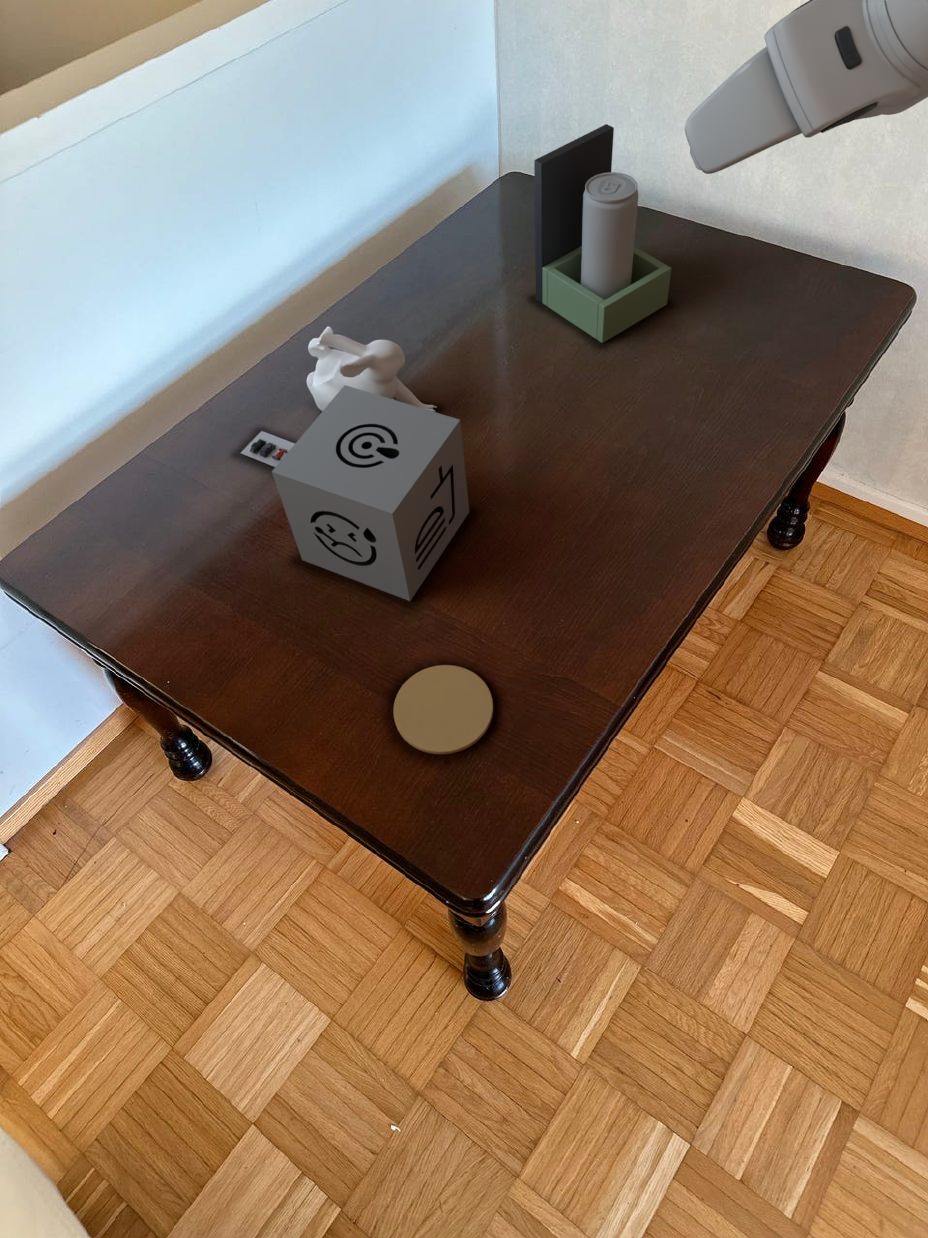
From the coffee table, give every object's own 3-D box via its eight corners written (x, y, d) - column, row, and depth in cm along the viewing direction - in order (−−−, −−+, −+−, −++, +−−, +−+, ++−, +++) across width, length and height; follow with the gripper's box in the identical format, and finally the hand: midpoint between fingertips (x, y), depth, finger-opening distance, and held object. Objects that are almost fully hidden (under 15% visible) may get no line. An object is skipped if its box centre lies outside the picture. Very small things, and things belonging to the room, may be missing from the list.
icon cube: (469, 511, 74) (460, 419, 66) (410, 601, 69) (392, 513, 61) (365, 476, 78) (344, 384, 69) (302, 560, 73) (271, 471, 65)
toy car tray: (261, 430, 82) (259, 424, 81) (333, 458, 79) (332, 452, 78) (240, 453, 80) (237, 446, 80) (312, 482, 77) (311, 475, 77)
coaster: (495, 668, 65) (495, 665, 65) (490, 756, 61) (490, 753, 61) (400, 666, 66) (399, 663, 66) (388, 753, 62) (387, 750, 62)
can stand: (667, 304, 88) (685, 162, 77) (602, 343, 85) (610, 202, 74) (598, 263, 93) (606, 123, 82) (535, 298, 90) (534, 159, 79)
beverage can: (635, 294, 89) (646, 175, 80) (619, 323, 87) (628, 204, 77) (589, 284, 91) (594, 167, 81) (572, 313, 88) (575, 195, 79)
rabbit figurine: (439, 409, 82) (428, 318, 74) (397, 464, 78) (381, 374, 70) (329, 374, 86) (307, 285, 78) (284, 425, 82) (256, 336, 74)
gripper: (989, -80, 56) (825, 43, 69) (759, 28, 50) (626, 141, 63) (1024, 21, 58) (856, 124, 71) (804, 138, 52) (664, 227, 65)
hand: (746, 133), depth 67 cm, fingers open, 8 cm apart
